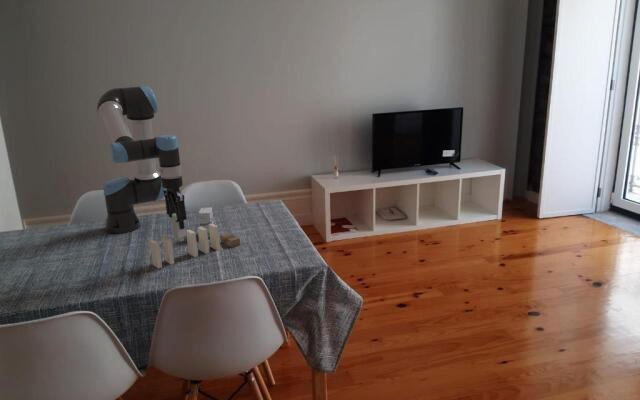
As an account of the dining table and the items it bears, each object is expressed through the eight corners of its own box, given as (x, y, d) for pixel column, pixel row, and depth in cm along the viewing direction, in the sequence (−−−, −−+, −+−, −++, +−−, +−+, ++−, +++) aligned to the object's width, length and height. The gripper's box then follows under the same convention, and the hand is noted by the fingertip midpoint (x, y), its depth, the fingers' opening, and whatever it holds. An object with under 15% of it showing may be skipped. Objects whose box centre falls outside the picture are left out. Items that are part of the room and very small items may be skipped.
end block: (220, 242, 214) (220, 235, 213) (229, 239, 216) (228, 233, 215) (231, 247, 207) (231, 240, 206) (240, 245, 209) (239, 238, 208)
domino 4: (194, 257, 199) (191, 233, 196) (188, 253, 203) (186, 230, 200) (198, 256, 200) (195, 232, 197) (192, 252, 204) (189, 229, 201)
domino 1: (158, 268, 190) (154, 243, 187) (152, 264, 193) (149, 240, 191) (162, 267, 191) (158, 242, 188) (156, 263, 194) (153, 239, 192)
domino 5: (205, 253, 202) (203, 230, 199) (200, 250, 206) (197, 227, 203) (209, 252, 203) (206, 229, 200) (203, 249, 207) (201, 226, 204)
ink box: (212, 238, 218) (209, 212, 215) (201, 239, 218) (198, 213, 214) (214, 231, 226) (212, 206, 223) (203, 232, 226) (200, 207, 223)
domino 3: (180, 241, 193) (177, 216, 190) (174, 238, 197) (171, 214, 194) (184, 240, 194) (181, 215, 191) (178, 237, 198) (175, 213, 195)
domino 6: (216, 250, 205) (214, 227, 202) (211, 247, 209) (208, 224, 206) (220, 249, 206) (218, 226, 203) (214, 246, 210) (212, 223, 207)
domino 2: (170, 264, 193) (167, 240, 190) (165, 260, 196) (161, 236, 194) (174, 263, 194) (171, 239, 191) (169, 259, 197) (165, 235, 195)
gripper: (152, 174, 193) (160, 231, 200) (172, 182, 180) (179, 243, 186) (170, 171, 197) (177, 227, 204) (191, 178, 184) (198, 238, 191)
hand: (178, 234), depth 195 cm, fingers closed on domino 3, 5 cm apart
